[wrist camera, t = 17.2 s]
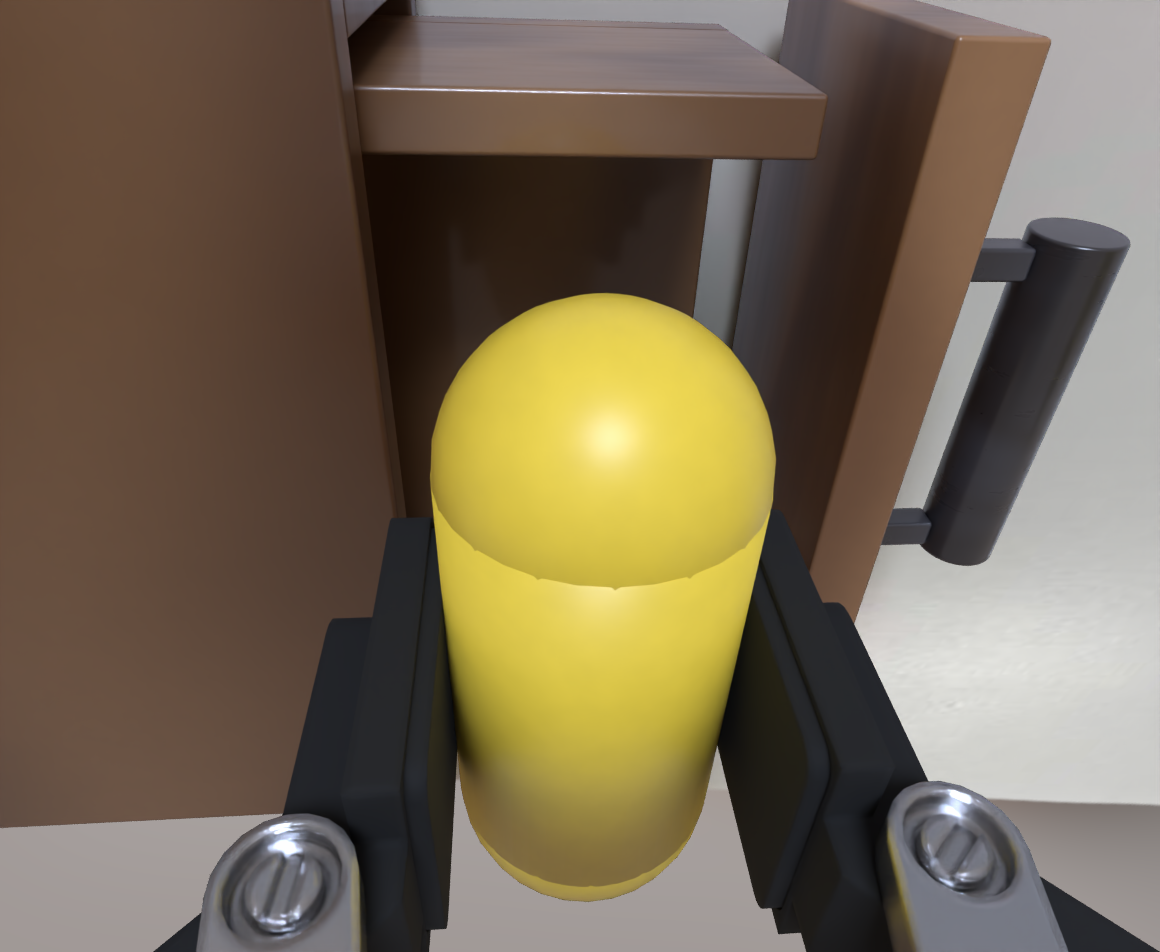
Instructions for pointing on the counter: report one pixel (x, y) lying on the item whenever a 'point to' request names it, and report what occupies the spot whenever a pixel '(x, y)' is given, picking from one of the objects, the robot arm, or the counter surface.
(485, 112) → the drawer
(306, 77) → the cabinet
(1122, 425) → the counter surface
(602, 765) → the yellow pill capsule
